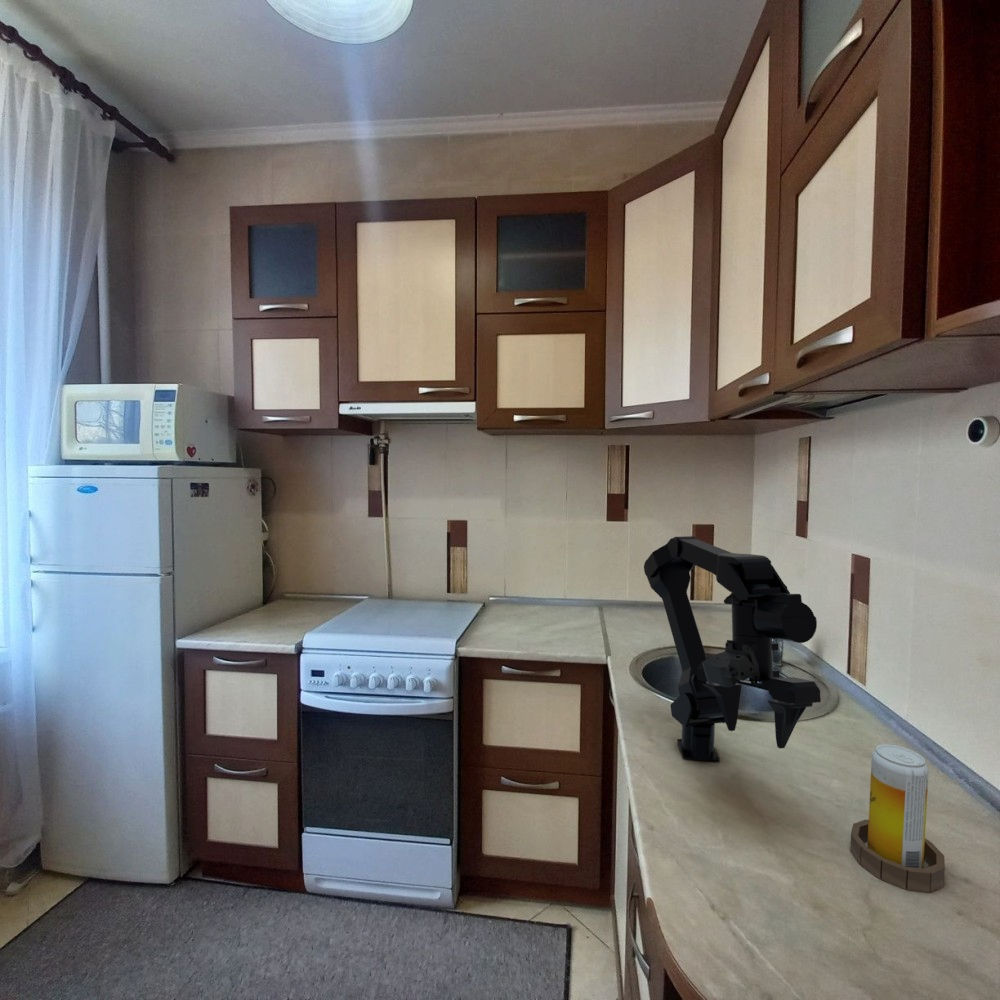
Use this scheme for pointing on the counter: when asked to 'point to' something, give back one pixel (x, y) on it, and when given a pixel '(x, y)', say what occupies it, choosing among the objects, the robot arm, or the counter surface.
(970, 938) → the counter surface
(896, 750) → the beer can
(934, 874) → the collar
